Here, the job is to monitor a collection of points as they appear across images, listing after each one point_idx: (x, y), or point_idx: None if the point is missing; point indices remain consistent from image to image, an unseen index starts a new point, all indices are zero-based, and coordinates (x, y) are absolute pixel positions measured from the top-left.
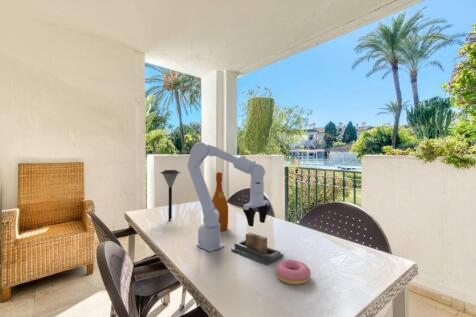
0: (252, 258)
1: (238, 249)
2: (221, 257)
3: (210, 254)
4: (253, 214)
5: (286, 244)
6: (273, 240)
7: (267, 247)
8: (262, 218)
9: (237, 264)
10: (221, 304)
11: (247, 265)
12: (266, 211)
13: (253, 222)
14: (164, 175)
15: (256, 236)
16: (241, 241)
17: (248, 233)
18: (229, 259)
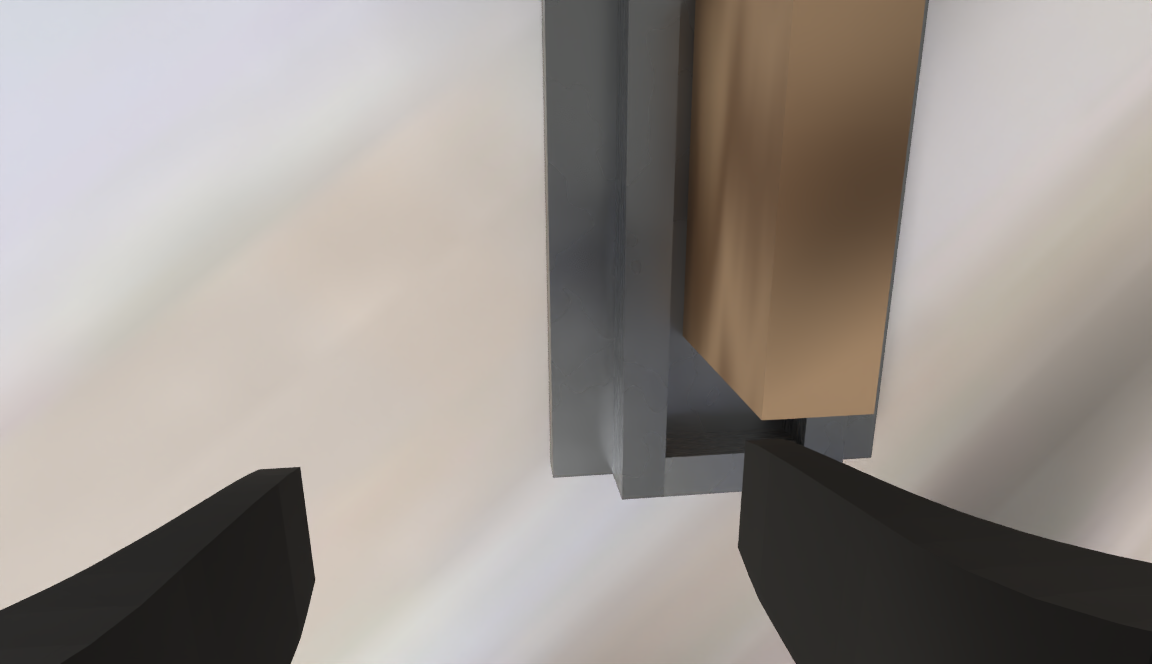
0: None
1: None
2: (1059, 381)
3: (1063, 513)
4: (1100, 574)
5: (50, 50)
6: (107, 323)
7: (636, 31)
8: (261, 582)
9: (1107, 120)
10: None
11: (1068, 9)
12: (22, 658)
13: (807, 467)
14: None
15: (874, 156)
16: (717, 480)
17: (823, 393)
18: (1052, 282)
